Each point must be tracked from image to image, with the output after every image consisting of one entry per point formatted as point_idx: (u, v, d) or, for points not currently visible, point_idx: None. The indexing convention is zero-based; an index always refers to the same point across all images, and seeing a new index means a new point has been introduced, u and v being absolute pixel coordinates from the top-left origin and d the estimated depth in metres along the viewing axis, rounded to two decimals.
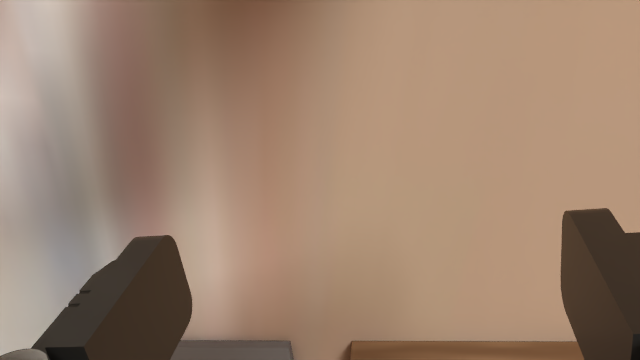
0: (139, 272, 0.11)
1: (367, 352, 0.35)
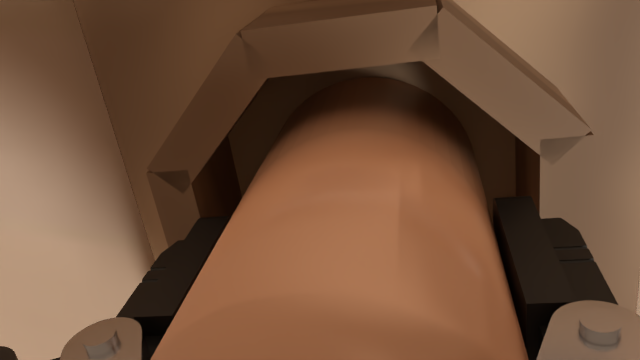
0: (211, 249, 0.11)
1: None
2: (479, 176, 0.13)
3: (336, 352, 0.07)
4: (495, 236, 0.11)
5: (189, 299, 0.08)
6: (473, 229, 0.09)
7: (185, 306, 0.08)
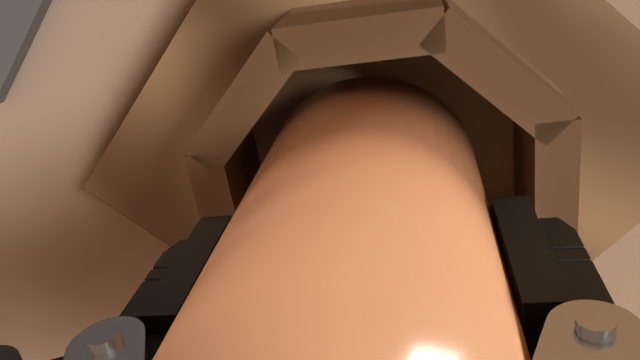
0: (213, 248, 0.11)
1: None
2: (479, 175, 0.13)
3: (338, 351, 0.07)
4: (496, 235, 0.11)
5: (191, 298, 0.08)
6: (475, 228, 0.09)
7: (187, 305, 0.08)
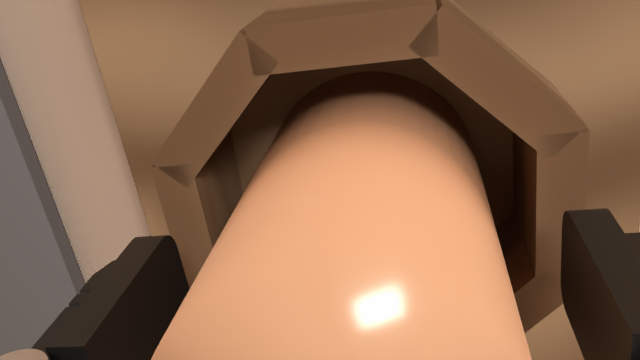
0: (139, 272, 0.11)
1: None
2: (478, 168, 0.13)
3: (339, 334, 0.07)
4: (494, 225, 0.11)
5: (197, 285, 0.08)
6: (474, 218, 0.09)
7: (193, 291, 0.08)
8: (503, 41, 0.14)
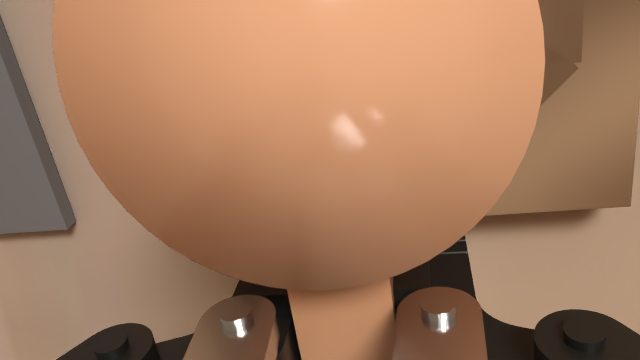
0: None
1: None
2: None
3: None
4: None
5: None
6: None
7: None
8: None
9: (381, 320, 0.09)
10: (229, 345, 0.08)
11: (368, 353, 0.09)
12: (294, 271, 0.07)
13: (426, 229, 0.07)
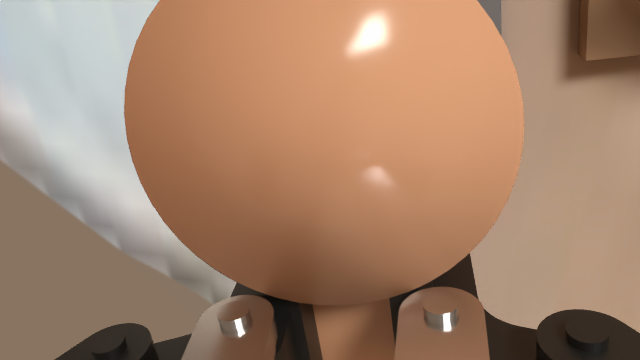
0: None
1: None
2: None
3: (315, 0, 0.07)
4: None
5: None
6: None
7: None
8: None
9: (389, 329, 0.10)
10: (227, 345, 0.08)
11: (377, 357, 0.11)
12: (318, 289, 0.09)
13: (429, 256, 0.08)
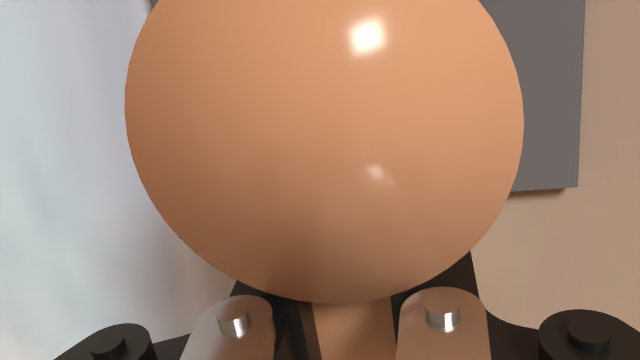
0: None
1: None
2: None
3: None
4: None
5: None
6: None
7: None
8: None
9: (389, 328, 0.10)
10: (225, 345, 0.08)
11: (377, 356, 0.11)
12: (318, 287, 0.09)
13: (428, 254, 0.08)
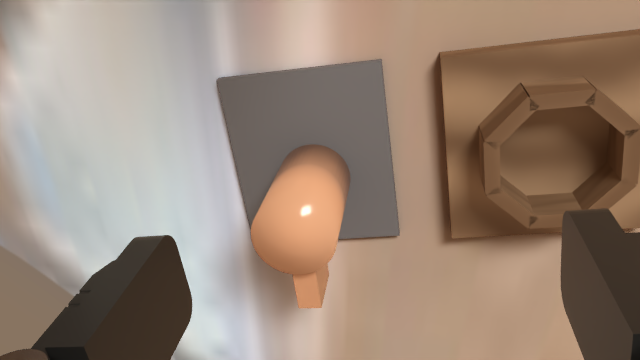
0: (139, 272, 0.11)
1: (455, 54, 0.38)
2: (344, 177, 0.41)
3: (293, 211, 0.35)
4: (340, 194, 0.39)
5: (263, 204, 0.36)
6: (329, 190, 0.38)
7: (262, 205, 0.36)
8: (607, 96, 0.38)
9: (314, 282, 0.39)
10: None
11: (311, 290, 0.39)
12: (294, 270, 0.37)
13: (319, 262, 0.37)
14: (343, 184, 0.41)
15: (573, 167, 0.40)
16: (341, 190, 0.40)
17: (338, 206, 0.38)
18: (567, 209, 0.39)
